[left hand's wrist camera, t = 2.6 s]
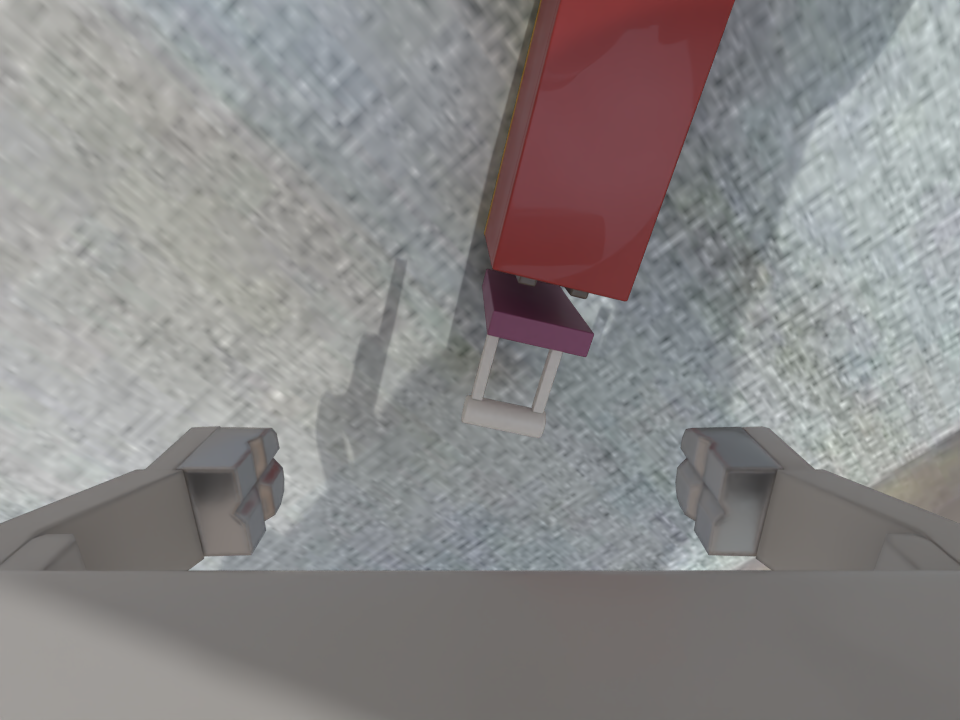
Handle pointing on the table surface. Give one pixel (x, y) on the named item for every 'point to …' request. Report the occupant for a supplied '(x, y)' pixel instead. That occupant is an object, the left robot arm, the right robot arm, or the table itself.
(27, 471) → the table surface
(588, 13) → the red yellow-edged box
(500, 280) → the drawer
